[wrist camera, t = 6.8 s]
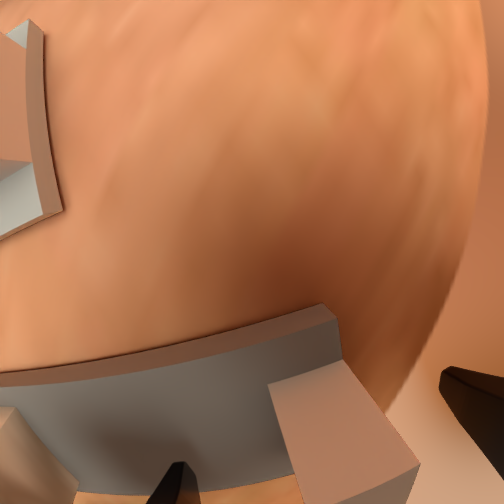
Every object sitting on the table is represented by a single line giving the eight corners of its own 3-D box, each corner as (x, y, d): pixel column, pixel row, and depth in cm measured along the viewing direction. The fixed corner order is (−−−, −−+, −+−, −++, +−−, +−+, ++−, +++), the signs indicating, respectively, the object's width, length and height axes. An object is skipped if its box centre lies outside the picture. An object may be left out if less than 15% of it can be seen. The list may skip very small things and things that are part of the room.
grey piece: (341, 436, 11) (392, 531, 5) (13, 464, 9) (-14, 521, 4) (322, 302, 9) (432, 420, 3) (-51, 376, 8) (-99, 427, 2)
